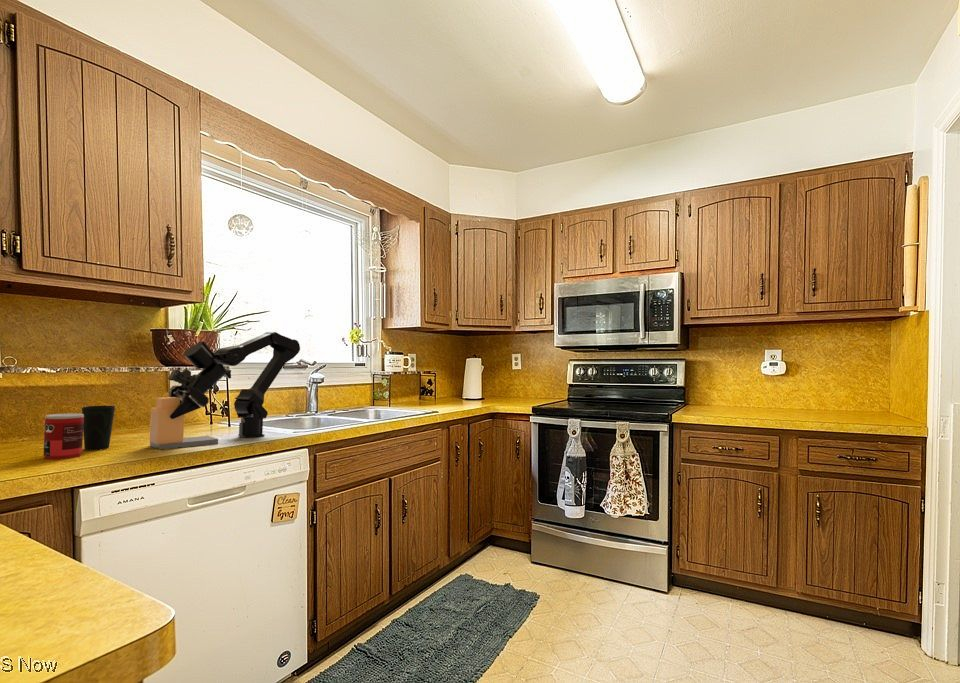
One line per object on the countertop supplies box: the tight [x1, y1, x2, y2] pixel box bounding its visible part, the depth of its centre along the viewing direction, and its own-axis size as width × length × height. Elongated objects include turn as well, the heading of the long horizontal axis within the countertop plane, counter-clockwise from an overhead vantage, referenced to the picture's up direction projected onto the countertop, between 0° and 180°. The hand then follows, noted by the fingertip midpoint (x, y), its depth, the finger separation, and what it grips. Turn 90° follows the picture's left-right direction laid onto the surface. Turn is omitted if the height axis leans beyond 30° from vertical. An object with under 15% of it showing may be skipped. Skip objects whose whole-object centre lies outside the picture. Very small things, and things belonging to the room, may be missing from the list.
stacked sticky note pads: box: [149, 396, 185, 444], centre depth 150 cm, size 7×7×13 cm
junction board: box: [149, 435, 219, 451], centre depth 154 cm, size 16×9×4 cm, turn 138°
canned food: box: [42, 412, 84, 460], centre depth 133 cm, size 8×8×11 cm
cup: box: [81, 405, 116, 451], centre depth 145 cm, size 8×8×12 cm
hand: (165, 416), depth 150 cm, fingers open, 9 cm apart
